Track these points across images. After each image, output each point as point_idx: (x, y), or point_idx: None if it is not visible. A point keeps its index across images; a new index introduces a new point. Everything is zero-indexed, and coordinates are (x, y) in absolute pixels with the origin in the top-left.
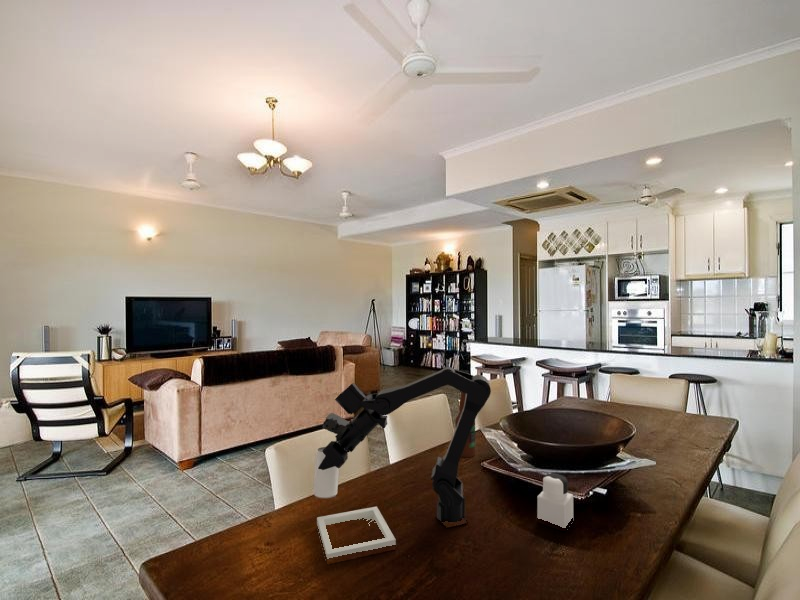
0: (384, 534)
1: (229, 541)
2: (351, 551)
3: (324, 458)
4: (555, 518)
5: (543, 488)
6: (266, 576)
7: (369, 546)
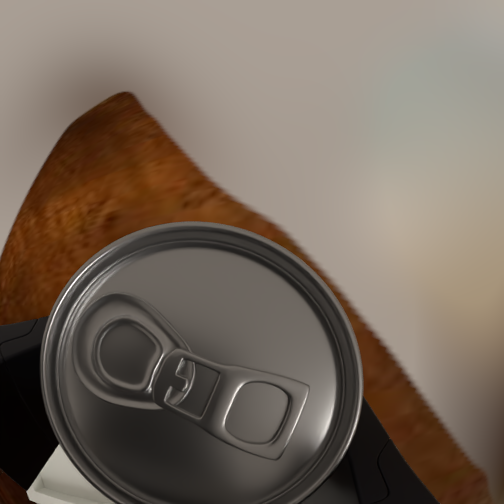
0: (56, 495)
1: (149, 146)
2: None
3: (15, 326)
4: None
5: None
6: (28, 240)
7: None
